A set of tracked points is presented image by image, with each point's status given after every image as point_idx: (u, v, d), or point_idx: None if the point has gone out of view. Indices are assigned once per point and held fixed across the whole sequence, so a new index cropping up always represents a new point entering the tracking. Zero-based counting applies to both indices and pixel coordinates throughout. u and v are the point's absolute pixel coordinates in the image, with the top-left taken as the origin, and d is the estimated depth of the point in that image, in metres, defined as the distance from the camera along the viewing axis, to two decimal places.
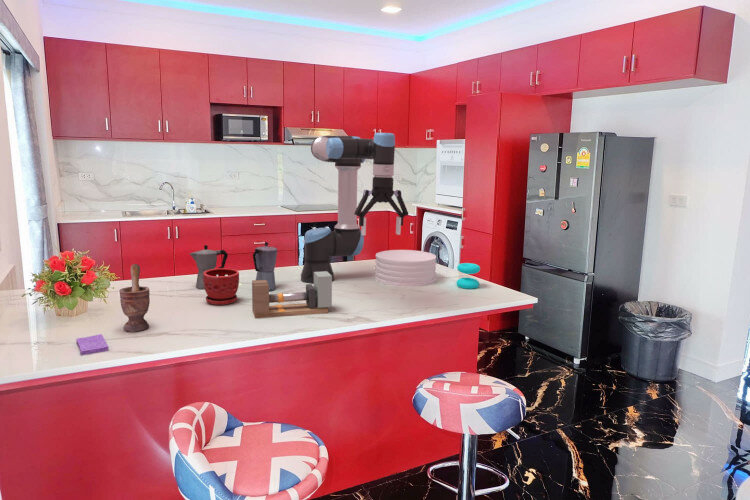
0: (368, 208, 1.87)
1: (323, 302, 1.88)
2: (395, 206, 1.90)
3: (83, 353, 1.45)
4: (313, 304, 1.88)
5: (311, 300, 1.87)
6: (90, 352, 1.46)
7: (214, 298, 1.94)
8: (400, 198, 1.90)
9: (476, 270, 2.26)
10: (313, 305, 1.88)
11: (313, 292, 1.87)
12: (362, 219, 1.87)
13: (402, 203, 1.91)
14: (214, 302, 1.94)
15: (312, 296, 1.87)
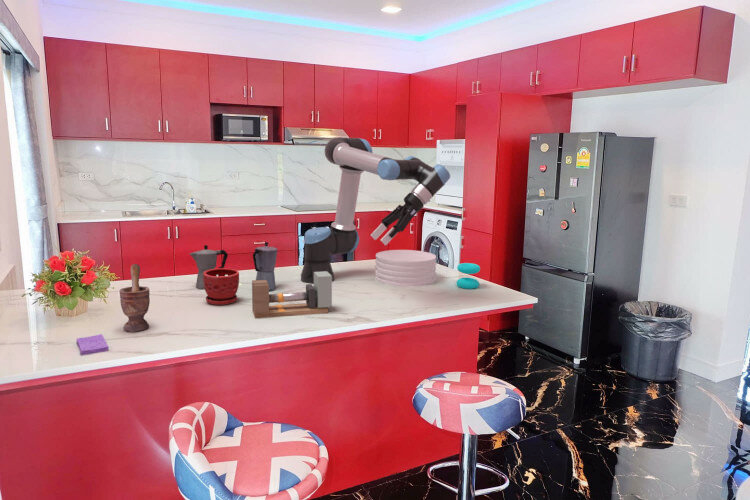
0: None
1: (323, 302, 1.88)
2: None
3: (83, 353, 1.45)
4: (313, 304, 1.88)
5: (311, 300, 1.87)
6: (90, 352, 1.46)
7: (214, 298, 1.94)
8: None
9: (476, 270, 2.26)
10: (313, 305, 1.88)
11: (313, 292, 1.87)
12: None
13: None
14: (214, 302, 1.94)
15: (312, 296, 1.87)
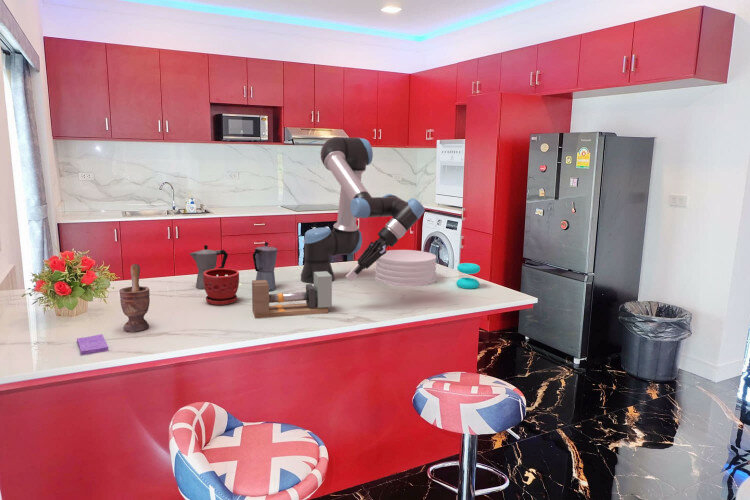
0: None
1: (323, 302, 1.88)
2: None
3: (83, 353, 1.45)
4: (313, 304, 1.88)
5: (311, 300, 1.87)
6: (90, 352, 1.46)
7: (214, 298, 1.94)
8: None
9: (476, 270, 2.26)
10: (313, 305, 1.88)
11: (313, 292, 1.87)
12: None
13: None
14: (214, 302, 1.94)
15: (312, 296, 1.87)
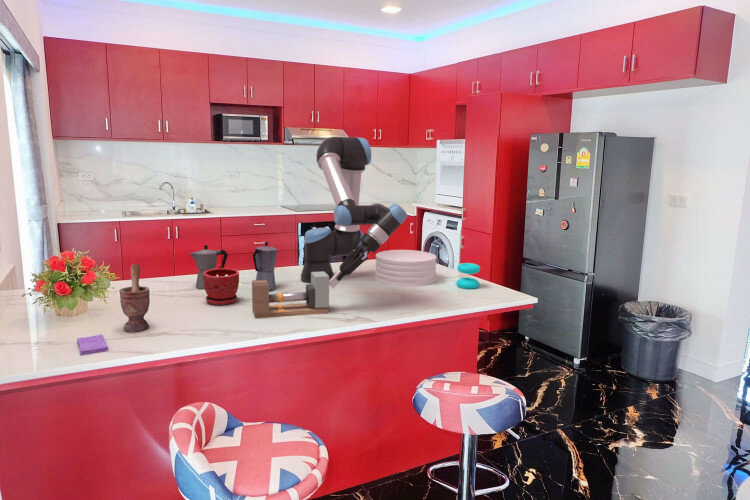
0: None
1: (320, 302, 1.88)
2: None
3: (83, 353, 1.45)
4: (313, 304, 1.88)
5: (311, 300, 1.87)
6: (90, 352, 1.46)
7: (214, 298, 1.94)
8: None
9: (476, 270, 2.26)
10: (313, 305, 1.88)
11: (313, 292, 1.87)
12: None
13: None
14: (214, 302, 1.94)
15: (312, 296, 1.87)
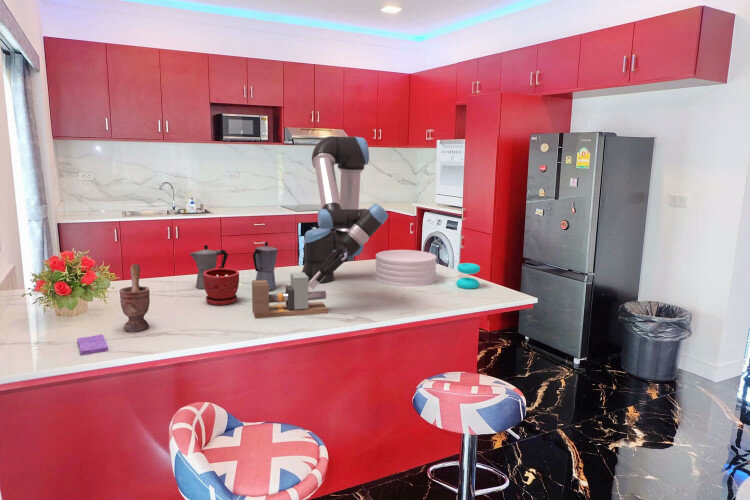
0: None
1: (299, 304, 1.85)
2: None
3: (83, 353, 1.45)
4: (292, 305, 1.85)
5: (290, 302, 1.85)
6: (90, 352, 1.46)
7: (214, 298, 1.94)
8: None
9: (476, 270, 2.26)
10: (292, 306, 1.85)
11: (292, 293, 1.84)
12: None
13: None
14: (214, 302, 1.94)
15: (291, 297, 1.84)
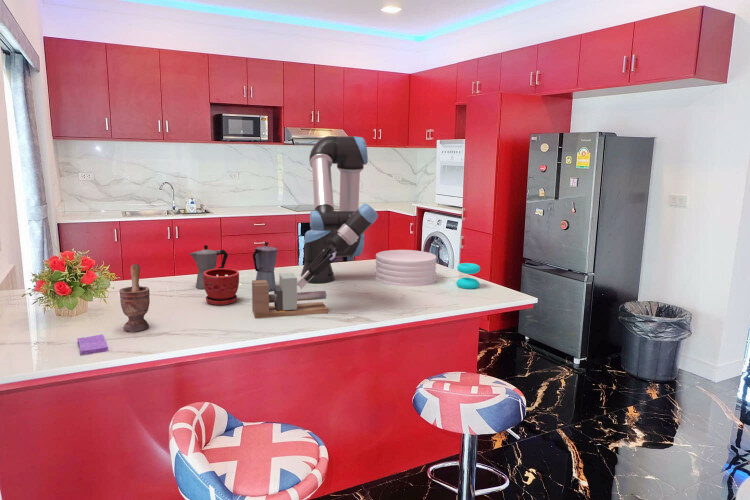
0: None
1: (288, 304, 1.84)
2: None
3: (82, 353, 1.45)
4: (280, 306, 1.84)
5: (278, 302, 1.83)
6: (89, 352, 1.46)
7: (214, 298, 1.94)
8: None
9: (476, 270, 2.26)
10: (280, 307, 1.84)
11: (280, 294, 1.83)
12: None
13: None
14: (214, 302, 1.94)
15: (279, 298, 1.83)
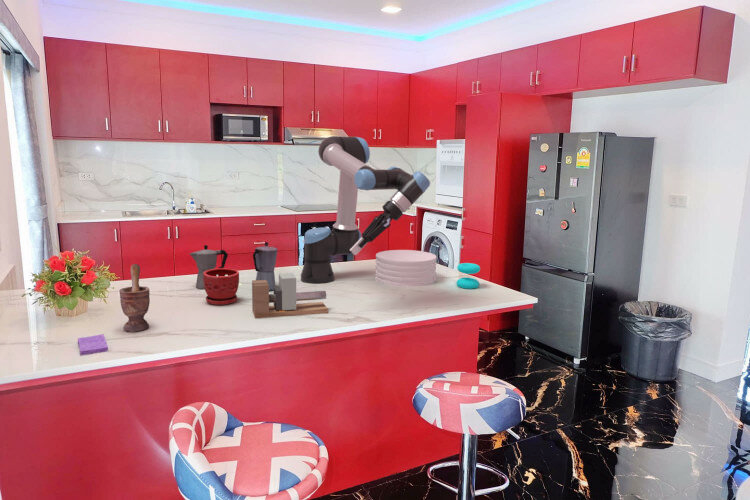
0: None
1: (287, 304, 1.84)
2: None
3: (82, 353, 1.45)
4: (280, 306, 1.84)
5: (277, 303, 1.83)
6: (89, 352, 1.46)
7: (214, 298, 1.94)
8: None
9: (476, 270, 2.26)
10: (280, 307, 1.84)
11: (280, 294, 1.83)
12: None
13: None
14: (214, 302, 1.94)
15: (279, 298, 1.83)
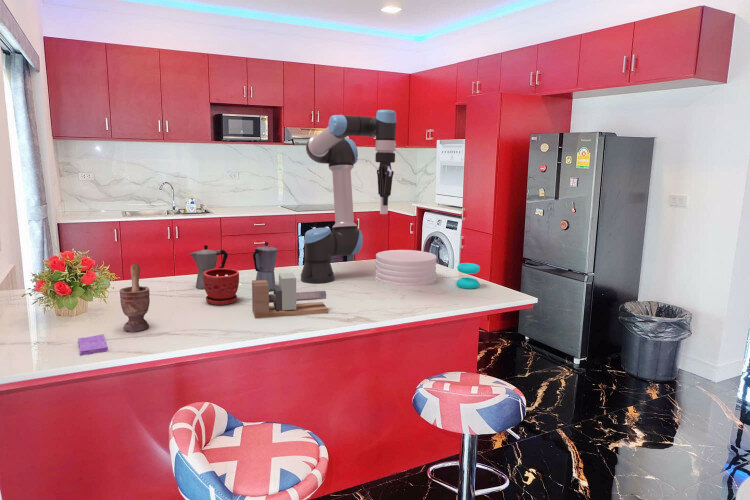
0: None
1: (287, 304, 1.84)
2: None
3: (82, 353, 1.45)
4: (280, 306, 1.84)
5: (277, 303, 1.83)
6: (89, 352, 1.46)
7: (214, 298, 1.94)
8: None
9: (476, 270, 2.26)
10: (280, 307, 1.84)
11: (280, 294, 1.83)
12: None
13: None
14: (214, 302, 1.94)
15: (279, 298, 1.83)
